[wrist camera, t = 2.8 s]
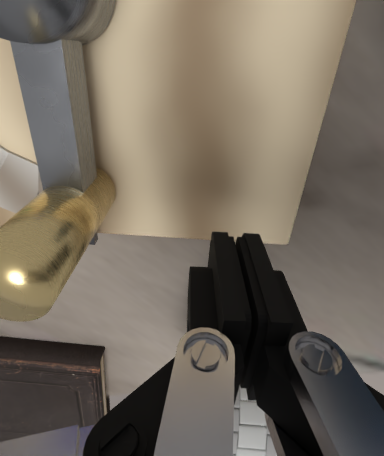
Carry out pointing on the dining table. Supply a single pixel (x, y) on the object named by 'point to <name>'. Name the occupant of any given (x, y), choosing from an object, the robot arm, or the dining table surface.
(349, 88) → the dining table surface
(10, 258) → the lever
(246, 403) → the watch
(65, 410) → the hardcover book
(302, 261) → the dining table surface
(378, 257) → the dining table surface
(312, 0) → the dial board
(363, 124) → the dining table surface
